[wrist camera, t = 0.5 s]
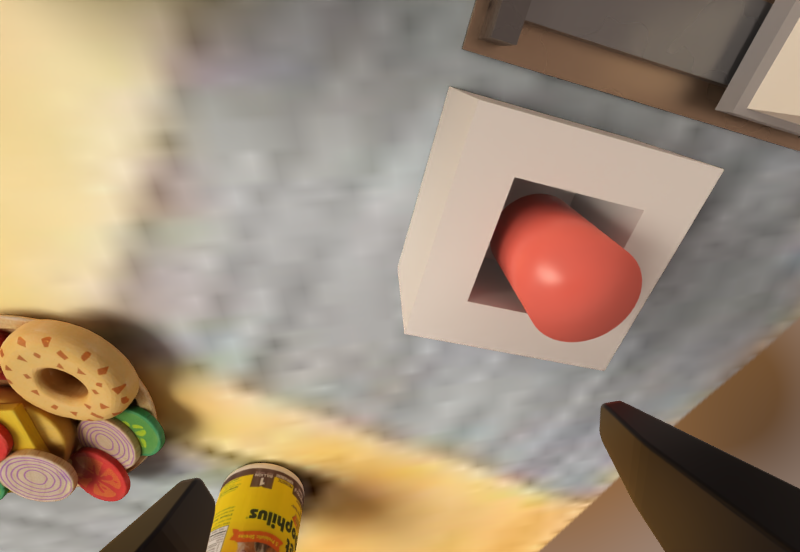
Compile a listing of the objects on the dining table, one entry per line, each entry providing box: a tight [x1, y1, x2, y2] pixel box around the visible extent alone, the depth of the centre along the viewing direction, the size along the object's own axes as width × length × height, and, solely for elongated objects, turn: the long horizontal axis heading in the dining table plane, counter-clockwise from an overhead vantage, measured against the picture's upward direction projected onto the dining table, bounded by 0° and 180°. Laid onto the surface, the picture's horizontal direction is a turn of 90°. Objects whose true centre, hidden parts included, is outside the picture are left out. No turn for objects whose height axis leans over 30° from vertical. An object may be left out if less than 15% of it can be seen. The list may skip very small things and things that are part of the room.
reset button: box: [490, 194, 642, 342], centre depth 16 cm, size 4×4×5 cm
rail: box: [462, 0, 800, 151], centre depth 17 cm, size 18×6×2 cm, turn 75°
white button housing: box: [398, 86, 724, 371], centre depth 19 cm, size 9×9×6 cm
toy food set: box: [0, 315, 165, 502], centre depth 24 cm, size 13×13×3 cm
